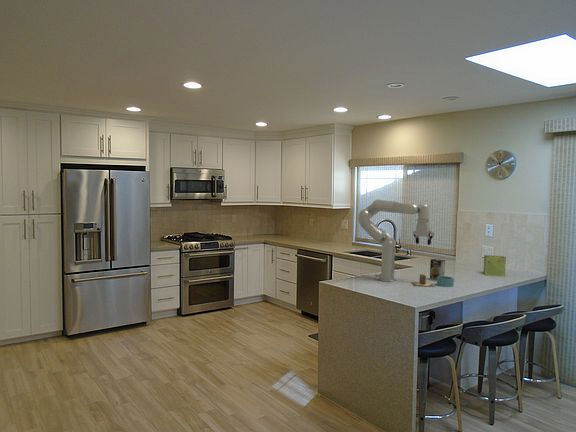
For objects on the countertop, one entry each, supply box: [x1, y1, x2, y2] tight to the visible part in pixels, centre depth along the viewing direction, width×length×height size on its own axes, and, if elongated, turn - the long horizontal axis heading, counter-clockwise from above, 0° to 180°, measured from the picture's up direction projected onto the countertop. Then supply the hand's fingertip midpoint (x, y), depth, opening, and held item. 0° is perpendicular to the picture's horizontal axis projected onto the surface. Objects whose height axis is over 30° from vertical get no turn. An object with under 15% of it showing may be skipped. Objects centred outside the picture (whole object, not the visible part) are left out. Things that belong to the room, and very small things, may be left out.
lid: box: [412, 274, 433, 286], centre depth 315 cm, size 13×13×7 cm
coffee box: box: [429, 258, 446, 282], centre depth 332 cm, size 9×6×16 cm
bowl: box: [436, 275, 455, 288], centre depth 314 cm, size 11×11×6 cm
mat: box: [409, 281, 436, 288], centre depth 315 cm, size 15×15×1 cm
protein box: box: [483, 254, 507, 277], centre depth 360 cm, size 10×15×16 cm
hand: (423, 244), depth 321 cm, fingers open, 9 cm apart
